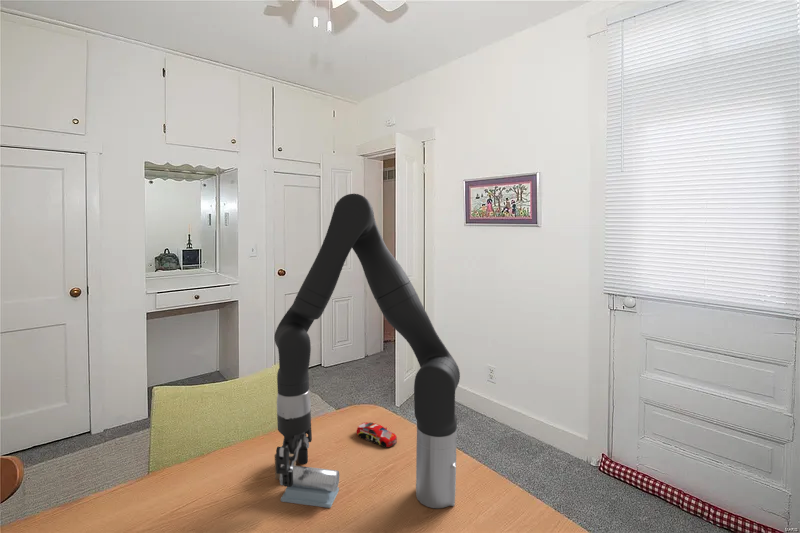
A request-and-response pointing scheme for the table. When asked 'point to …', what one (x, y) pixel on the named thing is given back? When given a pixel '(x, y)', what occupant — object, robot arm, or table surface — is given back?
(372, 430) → the race car
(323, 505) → the cradle
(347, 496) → the table surface
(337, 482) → the axle
